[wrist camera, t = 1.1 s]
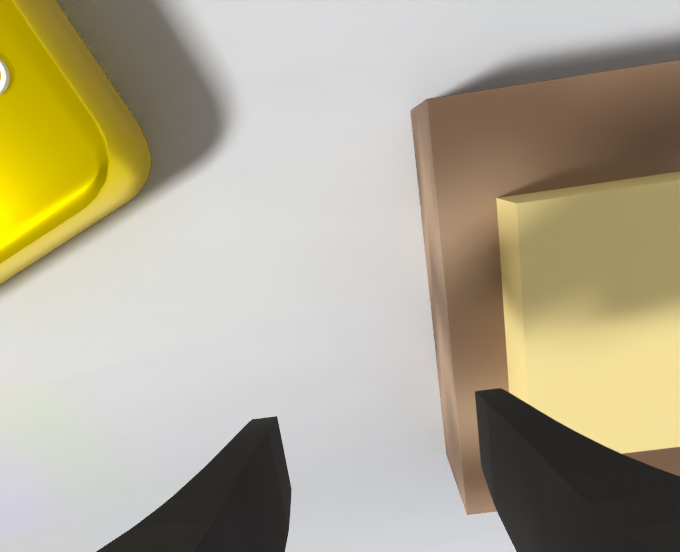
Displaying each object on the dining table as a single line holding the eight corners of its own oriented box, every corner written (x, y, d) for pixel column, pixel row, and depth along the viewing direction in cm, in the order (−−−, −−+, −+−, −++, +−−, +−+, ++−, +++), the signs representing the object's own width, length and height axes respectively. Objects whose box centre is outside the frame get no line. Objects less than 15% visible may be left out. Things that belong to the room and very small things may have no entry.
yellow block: (671, 412, 18) (710, 442, 16) (512, 432, 18) (531, 464, 16) (676, 172, 16) (722, 174, 14) (496, 197, 16) (516, 203, 14)
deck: (699, 424, 23) (773, 479, 19) (446, 454, 23) (467, 514, 19) (713, 63, 19) (809, 40, 15) (410, 110, 19) (427, 99, 16)
